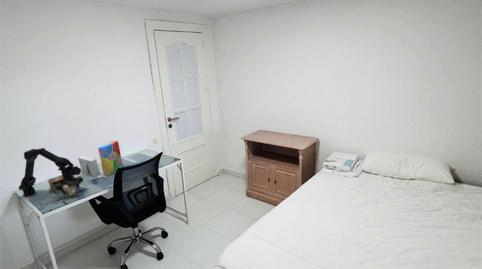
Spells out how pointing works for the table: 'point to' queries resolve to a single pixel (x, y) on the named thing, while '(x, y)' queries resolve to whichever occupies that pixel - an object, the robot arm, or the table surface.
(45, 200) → the pad
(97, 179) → the table surface
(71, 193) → the block
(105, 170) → the game box
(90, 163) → the skincare box
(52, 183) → the brown storage crate
